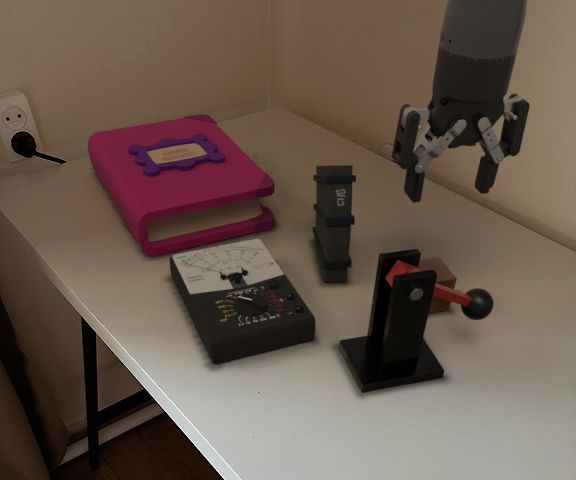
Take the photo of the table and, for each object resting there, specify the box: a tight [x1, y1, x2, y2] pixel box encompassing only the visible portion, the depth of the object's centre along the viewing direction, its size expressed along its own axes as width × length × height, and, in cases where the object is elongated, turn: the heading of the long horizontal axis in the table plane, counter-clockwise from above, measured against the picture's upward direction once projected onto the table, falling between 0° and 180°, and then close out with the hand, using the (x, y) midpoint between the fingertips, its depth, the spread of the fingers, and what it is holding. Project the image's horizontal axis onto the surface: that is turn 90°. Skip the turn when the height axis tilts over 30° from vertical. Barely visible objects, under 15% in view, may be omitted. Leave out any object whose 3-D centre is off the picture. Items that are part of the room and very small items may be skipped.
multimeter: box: [169, 238, 316, 364], centre depth 80 cm, size 13×19×5 cm
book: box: [87, 113, 276, 257], centre depth 99 cm, size 21×28×8 cm
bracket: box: [338, 248, 445, 394], centre depth 70 cm, size 10×8×14 cm
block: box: [418, 256, 458, 314], centre depth 82 cm, size 5×5×5 cm
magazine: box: [311, 164, 357, 284], centre depth 86 cm, size 4×13×15 cm, turn 6°
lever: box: [385, 260, 495, 321], centre depth 70 cm, size 14×4×4 cm, turn 105°
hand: (447, 194), depth 73 cm, fingers open, 8 cm apart
